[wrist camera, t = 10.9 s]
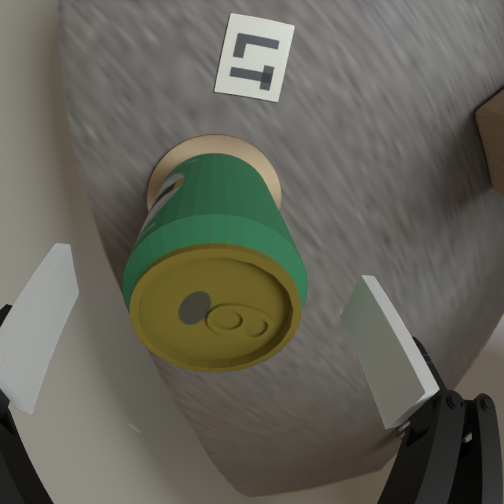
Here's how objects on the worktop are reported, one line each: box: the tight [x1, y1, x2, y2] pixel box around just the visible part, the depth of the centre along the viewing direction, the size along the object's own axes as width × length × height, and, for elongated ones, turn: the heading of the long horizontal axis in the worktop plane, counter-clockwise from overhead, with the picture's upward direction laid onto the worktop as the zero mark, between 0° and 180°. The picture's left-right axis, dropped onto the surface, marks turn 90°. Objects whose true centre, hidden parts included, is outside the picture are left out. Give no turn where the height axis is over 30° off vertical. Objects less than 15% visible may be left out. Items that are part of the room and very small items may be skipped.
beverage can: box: [123, 153, 308, 372], centre depth 16 cm, size 8×8×12 cm
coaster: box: [147, 134, 281, 212], centre depth 22 cm, size 10×10×1 cm
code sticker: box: [214, 13, 295, 102], centre depth 16 cm, size 6×4×1 cm
